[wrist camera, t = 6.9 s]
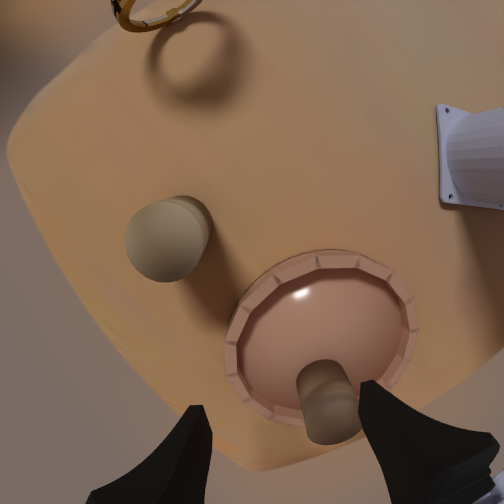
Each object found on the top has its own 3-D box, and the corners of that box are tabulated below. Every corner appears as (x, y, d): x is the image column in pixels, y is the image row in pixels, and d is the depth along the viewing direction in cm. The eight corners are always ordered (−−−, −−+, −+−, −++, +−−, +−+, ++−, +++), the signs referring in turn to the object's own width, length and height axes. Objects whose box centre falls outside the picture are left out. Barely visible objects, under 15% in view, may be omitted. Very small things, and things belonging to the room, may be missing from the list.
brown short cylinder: (336, 351, 20) (358, 395, 15) (349, 385, 21) (370, 429, 16) (288, 372, 21) (298, 421, 15) (305, 404, 22) (317, 451, 16)
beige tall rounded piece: (205, 189, 19) (192, 194, 13) (217, 247, 20) (210, 274, 14) (148, 203, 19) (116, 213, 13) (162, 259, 20) (137, 288, 14)
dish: (417, 248, 20) (431, 254, 18) (386, 399, 23) (393, 412, 21) (223, 249, 19) (220, 256, 18) (230, 413, 23) (229, 428, 21)
